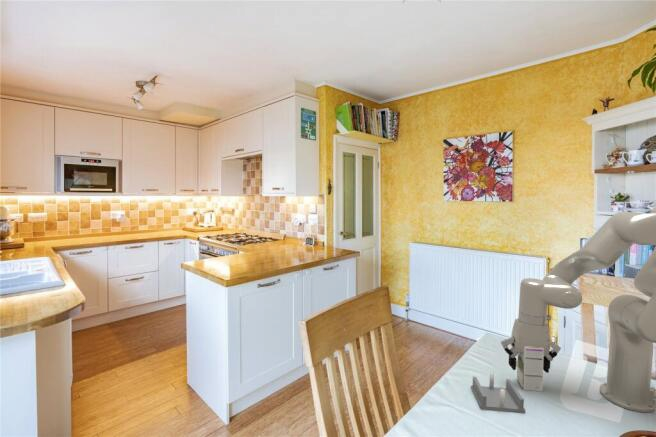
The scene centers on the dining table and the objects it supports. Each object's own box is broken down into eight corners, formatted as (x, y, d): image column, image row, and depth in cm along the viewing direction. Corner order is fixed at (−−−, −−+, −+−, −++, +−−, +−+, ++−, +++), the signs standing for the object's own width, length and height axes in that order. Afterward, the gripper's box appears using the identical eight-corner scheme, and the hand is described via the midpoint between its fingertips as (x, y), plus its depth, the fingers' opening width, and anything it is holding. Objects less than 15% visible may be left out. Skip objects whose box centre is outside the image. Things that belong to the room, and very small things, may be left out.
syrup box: (543, 392, 101) (545, 347, 100) (522, 390, 102) (524, 346, 101) (535, 381, 107) (537, 339, 106) (515, 379, 108) (517, 338, 107)
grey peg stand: (510, 391, 102) (511, 373, 101) (525, 413, 92) (526, 393, 91) (470, 388, 104) (471, 370, 103) (480, 409, 94) (481, 389, 93)
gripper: (555, 315, 105) (551, 365, 107) (498, 311, 108) (495, 360, 109) (568, 324, 98) (564, 378, 99) (507, 320, 100) (504, 373, 102)
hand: (528, 369), depth 104 cm, fingers open, 9 cm apart
